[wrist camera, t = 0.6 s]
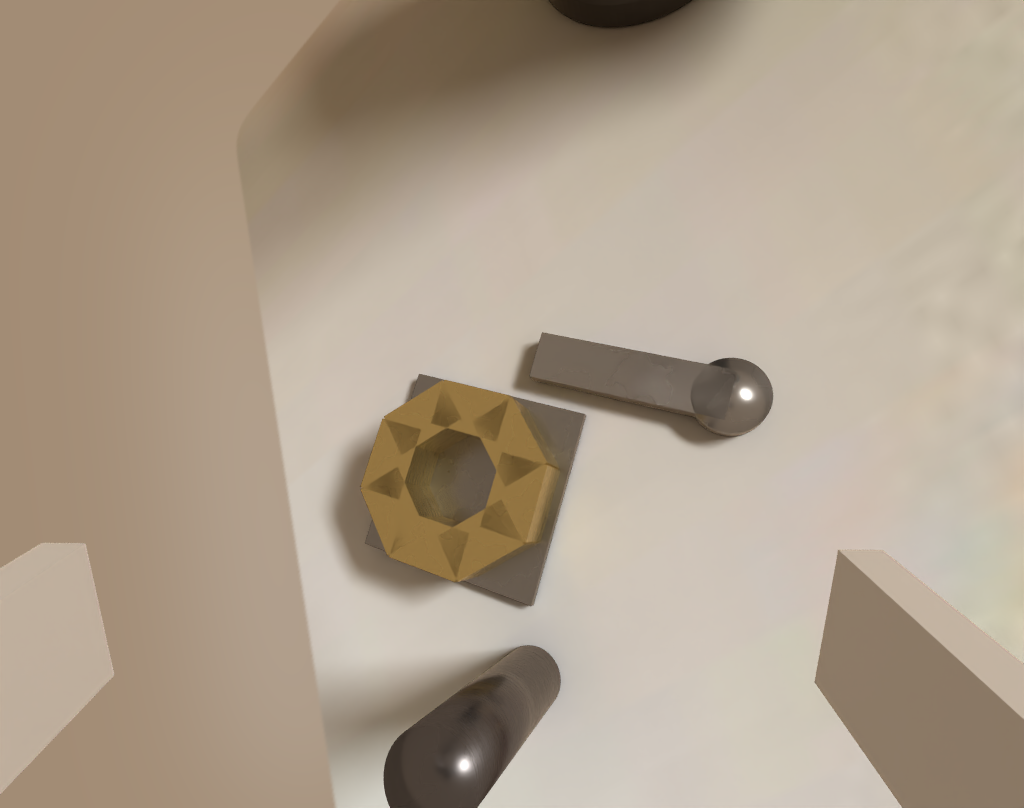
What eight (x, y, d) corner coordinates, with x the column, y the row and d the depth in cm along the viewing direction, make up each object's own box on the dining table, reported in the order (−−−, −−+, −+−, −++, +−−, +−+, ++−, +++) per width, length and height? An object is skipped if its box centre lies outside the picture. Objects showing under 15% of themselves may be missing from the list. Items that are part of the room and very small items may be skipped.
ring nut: (422, 375, 39) (394, 359, 35) (586, 415, 35) (574, 402, 31) (369, 543, 37) (333, 545, 33) (533, 604, 33) (514, 614, 29)
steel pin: (511, 636, 33) (401, 707, 20) (567, 658, 32) (489, 751, 19) (494, 696, 33) (370, 810, 20) (550, 721, 32) (459, 860, 19)
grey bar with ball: (531, 390, 36) (526, 386, 35) (549, 328, 37) (545, 322, 36) (760, 444, 31) (763, 441, 30) (777, 371, 32) (780, 366, 31)
